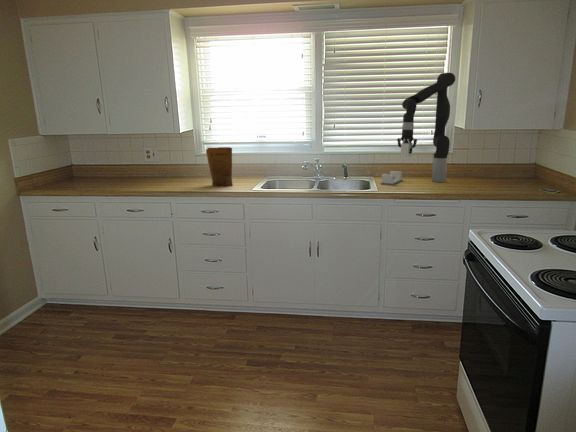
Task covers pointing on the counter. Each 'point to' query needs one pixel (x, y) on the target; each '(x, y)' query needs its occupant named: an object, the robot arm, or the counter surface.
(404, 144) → the block
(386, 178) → the rail
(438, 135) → the robot arm
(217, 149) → the pancake mix bag
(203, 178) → the counter surface
